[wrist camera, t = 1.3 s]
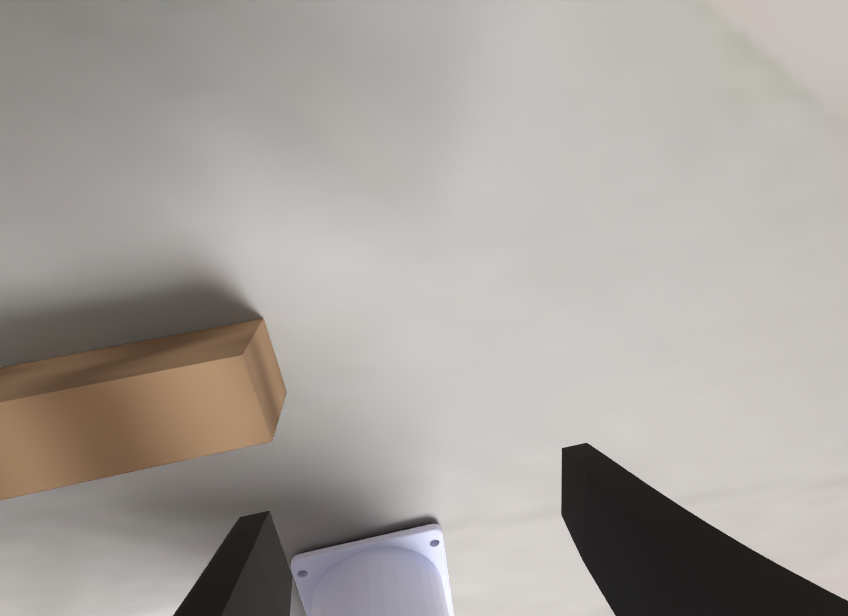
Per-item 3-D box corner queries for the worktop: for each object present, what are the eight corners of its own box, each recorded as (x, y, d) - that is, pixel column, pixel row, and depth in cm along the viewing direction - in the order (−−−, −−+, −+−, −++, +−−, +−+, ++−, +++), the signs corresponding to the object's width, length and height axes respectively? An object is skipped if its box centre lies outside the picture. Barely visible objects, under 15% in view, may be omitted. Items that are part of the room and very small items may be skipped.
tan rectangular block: (264, 316, 17) (242, 355, 13) (287, 389, 18) (272, 441, 15) (6, 364, 16) (-87, 419, 12) (50, 438, 17) (-24, 505, 14)
